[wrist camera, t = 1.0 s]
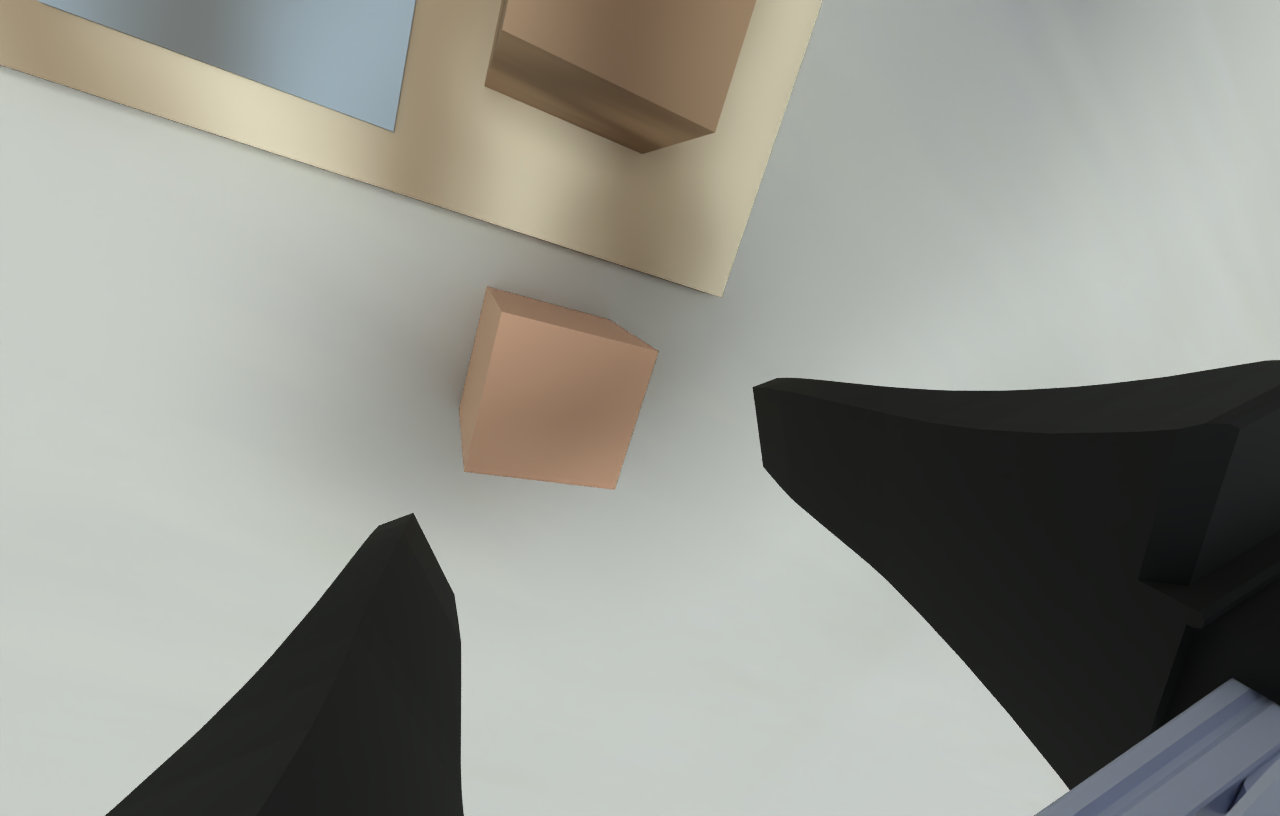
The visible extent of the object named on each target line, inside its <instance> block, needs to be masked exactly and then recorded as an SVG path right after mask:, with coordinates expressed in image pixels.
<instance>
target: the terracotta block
mask: <svg viewBox="0 0 1280 816" xmlns="http://www.w3.org/2000/svg"><path fill="white" fill-rule="evenodd" d="M658 352H659V351H657V350H656V349H654V348H653V347H651V346H650V345H648V344H646V343H645V342H643V341H642V340H640V339H639V338H637V337H636V336H634V335H632V334H631V333H629V332H628V331H626V330H625V329H623V328H622V327H620V326H619V325H617V324H615V323H614V322H612V321H611V320H609V319H605V318H602V317H598V316H594V315H591V314H587V313H583V312H579V311H576V310H572V309H568V308H565V307H561V306H557V305H554V304H550V303H546V302H542V301H539V300H535V299H531V298H528V297H524V296H520V295H517V294H513V293H509V292H506V291H502V290H498V289H494V288H491V287H487V288H486V293H485V297H484V301H483V306H482V310H481V315H480V319H479V324H478V328H477V333H476V337H475V341H474V346H473V350H472V355H471V359H470V364H469V368H468V372H467V377H466V381H465V386H464V390H463V395H462V399H461V403H460V408H459V415H460V427H461V439H462V451H463V463H464V472H472V473H480V474H489V475H497V476H505V477H514V478H522V479H530V480H539V481H547V482H556V483H564V484H572V485H581V486H589V487H597V488H606V489H614V490H615V487H616V484H617V481H618V478H619V474H620V471H621V468H622V465H623V462H624V459H625V456H626V452H627V449H628V446H629V443H630V440H631V437H632V434H633V431H634V427H635V424H636V421H637V418H638V415H639V412H640V409H641V405H642V402H643V399H644V396H645V393H646V390H647V387H648V384H649V380H650V377H651V374H652V371H653V368H654V365H655V362H656V358H657V355H658Z"/></svg>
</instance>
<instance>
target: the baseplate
mask: <svg viewBox="0 0 1280 816" xmlns="http://www.w3.org/2000/svg"><path fill="white" fill-rule="evenodd" d="M822 2H823V0H0V65H2V66H5V67H8V68H11V69H15V70H18V71H21V72H24V73H27V74H30V75H33V76H36V77H39V78H42V79H46V80H49V81H52V82H55V83H58V84H61V85H64V86H67V87H70V88H73V89H77V90H80V91H83V92H86V93H89V94H92V95H95V96H98V97H101V98H104V99H108V100H111V101H114V102H117V103H120V104H123V105H126V106H129V107H132V108H135V109H139V110H142V111H145V112H148V113H151V114H154V115H157V116H160V117H163V118H166V119H170V120H173V121H176V122H179V123H182V124H185V125H188V126H191V127H194V128H197V129H201V130H204V131H207V132H210V133H213V134H216V135H219V136H222V137H225V138H228V139H232V140H235V141H238V142H241V143H244V144H247V145H250V146H253V147H256V148H259V149H262V150H266V151H269V152H272V153H275V154H278V155H281V156H284V157H287V158H290V159H293V160H297V161H300V162H303V163H306V164H309V165H312V166H315V167H318V168H321V169H324V170H328V171H331V172H334V173H337V174H340V175H343V176H346V177H349V178H352V179H355V180H359V181H362V182H365V183H368V184H371V185H374V186H377V187H380V188H383V189H386V190H390V191H393V192H396V193H399V194H402V195H405V196H408V197H411V198H414V199H417V200H421V201H424V202H427V203H430V204H433V205H436V206H439V207H442V208H445V209H448V210H452V211H455V212H458V213H461V214H464V215H467V216H470V217H473V218H476V219H479V220H483V221H486V222H489V223H492V224H495V225H498V226H501V227H504V228H507V229H510V230H513V231H517V232H520V233H523V234H526V235H529V236H532V237H535V238H538V239H541V240H544V241H548V242H551V243H554V244H557V245H560V246H563V247H566V248H569V249H572V250H575V251H579V252H582V253H585V254H588V255H591V256H594V257H597V258H600V259H603V260H606V261H610V262H613V263H616V264H619V265H622V266H625V267H628V268H631V269H634V270H637V271H641V272H644V273H647V274H650V275H653V276H656V277H659V278H662V279H665V280H668V281H672V282H675V283H678V284H681V285H684V286H687V287H690V288H693V289H696V290H699V291H703V292H706V293H709V294H712V295H715V296H719V297H722V295H723V292H724V289H725V286H726V283H727V280H728V277H729V274H730V271H731V268H732V265H733V262H734V259H735V256H736V254H737V251H738V248H739V245H740V242H741V239H742V236H743V233H744V230H745V227H746V224H747V221H748V218H749V215H750V213H751V210H752V207H753V204H754V201H755V198H756V195H757V192H758V189H759V186H760V183H761V180H762V177H763V174H764V171H765V169H766V166H767V163H768V160H769V157H770V154H771V151H772V148H773V145H774V142H775V139H776V136H777V133H778V130H779V128H780V125H781V122H782V119H783V116H784V113H785V110H786V107H787V104H788V101H789V98H790V95H791V92H792V89H793V87H794V84H795V81H796V78H797V75H798V72H799V69H800V66H801V63H802V60H803V57H804V54H805V51H806V48H807V45H808V43H809V40H810V37H811V34H812V31H813V28H814V25H815V22H816V19H817V16H818V13H819V10H820V7H821V4H822Z"/></svg>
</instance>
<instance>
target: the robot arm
mask: <svg viewBox="0 0 1280 816" xmlns="http://www.w3.org/2000/svg"><path fill="white" fill-rule="evenodd" d="M753 393H754V400H755V408H756V415H757V423H758V431H759V438H760V446H761V453H762V461H763V467H764V468H765V469H766V470H767V472H768V473H769V474H770V475H771V476H772V478H773V479H774V480H775V481H776V482H777V483H778V485H779V486H780V487H781V488H782V489H783V490H784V491H785V492H786V493H787V494H788V495H789V496H790V498H791V499H793V500H794V501H795V502H796V503H797V504H798V505H799V506H801V507H802V508H803V509H804V510H805V511H806V512H808V513H809V514H810V515H811V516H812V517H813V518H815V519H816V520H817V521H818V522H819V523H821V524H822V525H823V526H824V527H825V528H827V529H828V530H829V531H830V532H831V533H833V534H834V535H835V536H836V537H837V538H839V539H840V540H841V541H842V542H843V543H845V544H846V545H847V546H848V547H849V548H851V549H852V550H853V551H854V552H855V553H857V554H858V555H859V556H860V557H861V558H863V559H864V560H865V561H866V562H867V563H869V564H870V565H871V566H872V567H873V568H874V569H875V570H876V571H877V572H879V573H880V574H881V575H882V576H883V577H884V578H885V579H886V580H887V581H888V582H889V583H890V584H891V585H892V586H893V587H894V588H895V589H896V590H897V591H898V592H899V593H900V594H901V595H902V596H903V597H904V598H905V599H906V600H907V601H908V602H909V603H910V604H911V605H912V606H913V607H914V608H915V609H916V610H917V611H918V612H919V614H920V615H921V616H922V617H923V618H924V619H925V620H926V621H927V622H928V623H929V624H930V625H931V626H932V627H933V628H934V630H935V631H936V632H937V633H938V634H939V635H940V636H941V637H942V638H943V639H944V640H945V642H946V643H947V644H948V645H949V646H950V647H951V648H952V649H953V650H954V651H955V652H956V654H957V655H958V656H959V657H960V658H961V659H962V660H963V661H964V662H965V664H966V665H967V666H968V667H969V668H970V669H971V670H972V672H973V673H974V674H975V675H976V676H977V677H978V679H979V680H980V681H981V682H982V683H983V684H984V686H985V687H986V688H987V689H988V690H989V691H990V693H991V694H992V695H993V696H994V697H995V698H996V699H997V701H998V702H999V703H1000V704H1001V705H1002V706H1003V708H1004V709H1005V710H1006V711H1007V712H1008V713H1009V715H1010V716H1011V717H1012V718H1013V720H1014V721H1015V722H1016V723H1017V724H1018V726H1019V727H1020V728H1021V729H1022V731H1023V732H1024V733H1025V734H1026V736H1027V737H1028V738H1029V739H1030V741H1031V742H1032V743H1033V744H1034V745H1035V747H1036V748H1037V749H1038V750H1039V752H1040V753H1041V754H1042V755H1043V757H1044V758H1045V759H1046V760H1047V762H1048V763H1049V764H1050V765H1051V767H1052V768H1053V769H1054V770H1055V771H1056V773H1057V774H1058V775H1059V776H1060V778H1061V779H1062V780H1063V782H1064V783H1065V784H1066V786H1067V787H1068V788H1069V789H1070V791H1069V792H1067V793H1066V794H1064V795H1063V796H1062V797H1060V798H1059V799H1057V800H1056V801H1054V802H1053V803H1052V804H1050V805H1049V806H1047V807H1046V808H1044V809H1043V810H1042V811H1040V812H1039V813H1037V814H1036V815H1034V816H1280V360H1270V361H1261V362H1255V363H1249V364H1243V365H1237V366H1230V367H1224V368H1218V369H1212V370H1206V371H1200V372H1194V373H1188V374H1182V375H1175V376H1169V377H1162V378H1154V379H1145V380H1137V381H1128V382H1120V383H1111V384H1102V385H1091V386H1080V387H1068V388H1051V389H1034V390H1011V391H947V390H925V389H909V388H895V387H883V386H873V385H863V384H853V383H844V382H834V381H824V380H814V379H802V378H776V379H774V380H771V381H768V382H765V383H763V384H760V385H757V386H755V387H753ZM105 816H464V814H463V804H462V790H461V639H460V631H459V623H458V616H457V610H456V603H455V596H454V593H453V591H452V589H451V587H450V585H449V583H448V581H447V579H446V577H445V575H444V573H443V571H442V569H441V567H440V565H439V563H438V561H437V559H436V557H435V555H434V553H433V551H432V549H431V547H430V545H429V543H428V541H427V539H426V537H425V535H424V533H423V531H422V529H421V527H420V525H419V523H418V521H417V519H416V517H415V515H414V513H412V514H409V515H406V516H404V517H401V518H398V519H395V520H393V521H390V522H387V523H385V524H382V525H379V526H378V527H377V528H376V529H375V530H374V531H373V533H372V534H371V535H370V536H369V537H368V538H367V540H366V541H365V542H364V543H363V545H362V546H361V547H360V548H359V550H358V551H357V552H356V554H355V555H354V556H353V557H352V559H351V560H350V561H349V563H348V564H347V565H346V566H345V568H344V569H343V570H342V572H341V573H340V574H339V575H338V577H337V578H336V579H335V580H334V582H333V583H332V584H331V586H330V587H329V588H328V589H327V591H326V592H325V593H324V594H323V596H322V597H321V598H320V600H319V601H318V602H317V603H316V605H315V606H314V607H313V608H312V609H311V610H310V612H309V613H308V614H307V615H306V616H305V617H304V619H303V620H302V621H301V622H300V623H299V624H298V626H297V627H296V628H295V629H294V630H293V631H292V633H291V634H290V635H289V636H288V637H287V639H286V640H285V641H284V642H283V643H282V644H281V646H280V647H279V648H278V649H277V650H276V651H275V653H274V654H273V655H272V656H271V657H270V658H269V659H268V660H267V662H266V663H265V664H264V665H263V666H262V667H261V668H260V669H259V670H258V671H257V672H256V673H255V675H254V676H253V677H252V678H251V679H250V680H249V681H248V682H247V683H246V684H245V685H244V686H243V687H242V688H241V689H240V690H239V691H238V692H237V693H236V694H235V695H234V696H233V697H232V698H231V699H230V700H229V701H228V702H227V703H226V704H225V705H224V706H223V707H222V708H221V709H220V710H219V711H218V712H217V713H216V714H215V715H214V716H213V717H212V718H211V719H210V720H209V721H208V722H207V723H206V724H205V725H204V726H203V727H202V728H201V729H200V730H199V731H198V732H197V733H196V734H195V735H194V736H193V737H192V738H191V739H190V740H188V741H187V742H186V743H185V744H184V745H183V746H182V747H181V748H180V749H179V750H177V751H176V752H175V753H174V754H173V755H172V756H171V757H170V758H169V759H167V760H166V761H165V762H164V763H163V764H162V765H161V766H160V767H159V768H158V769H156V770H155V771H154V772H153V773H152V774H151V775H150V776H149V777H148V778H147V779H145V780H144V781H143V782H142V783H141V784H140V785H139V786H138V787H137V788H135V789H134V790H133V791H132V792H131V793H130V794H129V795H128V796H127V797H126V798H124V799H123V800H122V801H121V802H120V803H119V804H118V805H117V806H116V807H115V808H113V809H112V810H111V811H110V812H109V813H108V814H106V815H105Z"/></svg>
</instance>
